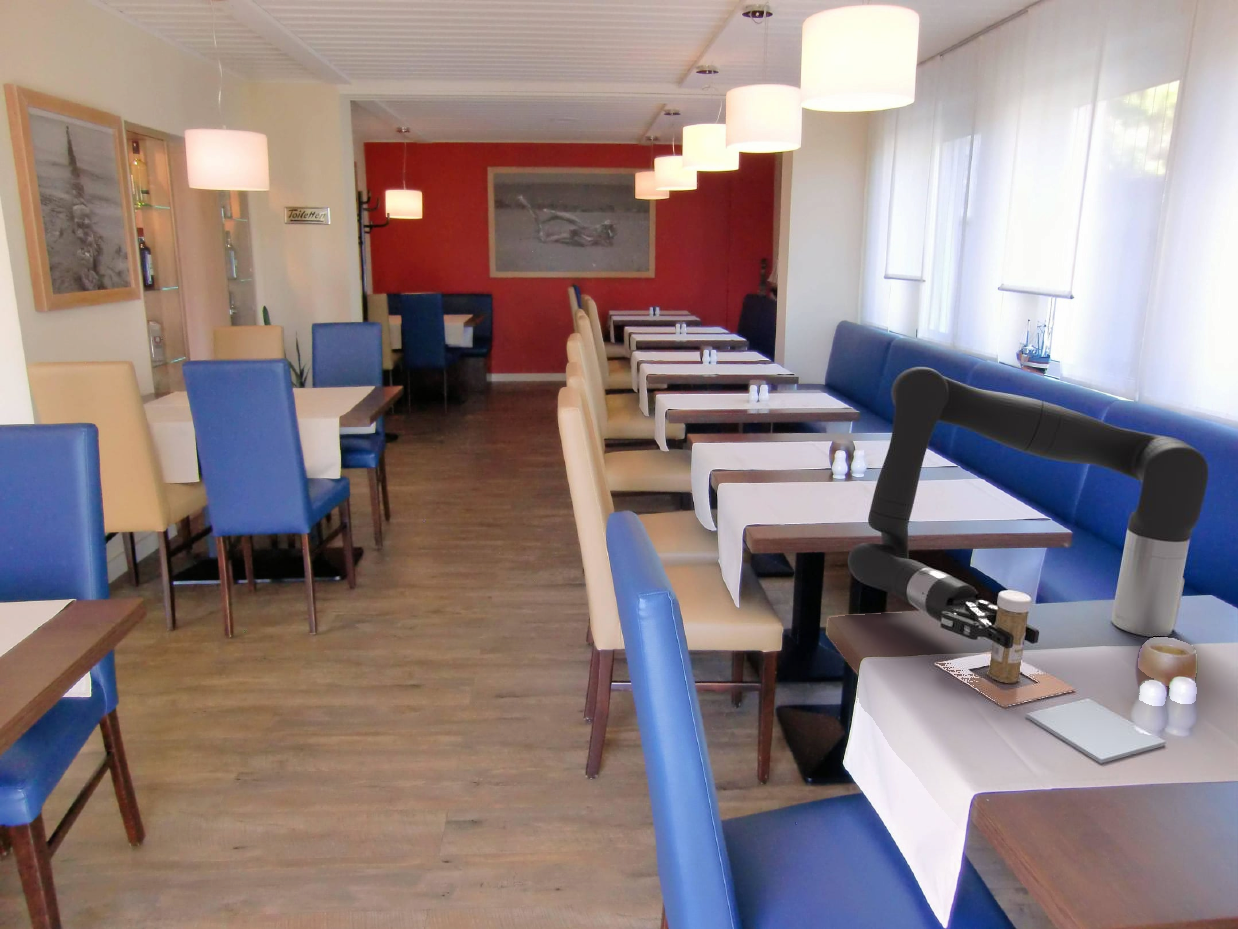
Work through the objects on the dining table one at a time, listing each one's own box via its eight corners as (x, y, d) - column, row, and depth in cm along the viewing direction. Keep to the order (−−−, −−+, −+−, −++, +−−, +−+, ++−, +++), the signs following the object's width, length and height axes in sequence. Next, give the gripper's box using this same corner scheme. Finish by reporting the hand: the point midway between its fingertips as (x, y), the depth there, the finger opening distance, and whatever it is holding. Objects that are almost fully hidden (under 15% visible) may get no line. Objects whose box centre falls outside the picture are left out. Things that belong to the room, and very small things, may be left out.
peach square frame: (1002, 651, 144) (1002, 648, 143) (1075, 691, 131) (1075, 689, 131) (934, 664, 138) (934, 662, 138) (1003, 708, 126) (1004, 705, 126)
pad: (1087, 702, 128) (1088, 698, 128) (1165, 745, 117) (1165, 741, 117) (1025, 717, 123) (1026, 713, 123) (1100, 763, 113) (1101, 759, 113)
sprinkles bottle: (1021, 686, 132) (1033, 602, 129) (988, 681, 133) (1000, 598, 130) (1017, 673, 136) (1029, 591, 133) (985, 668, 137) (997, 587, 134)
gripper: (909, 581, 142) (990, 623, 127) (978, 570, 147) (1063, 610, 132) (904, 624, 144) (984, 671, 129) (972, 612, 149) (1056, 656, 134)
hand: (1023, 639), depth 130 cm, fingers closed on sprinkles bottle, 4 cm apart
